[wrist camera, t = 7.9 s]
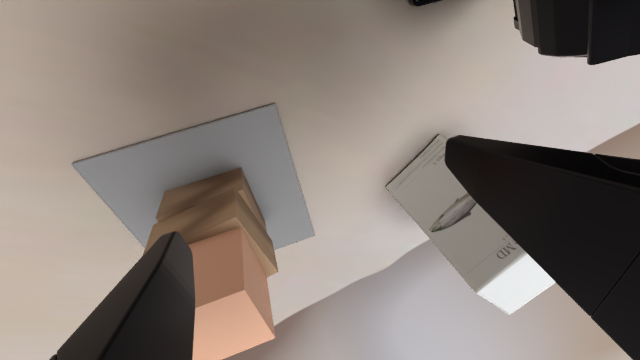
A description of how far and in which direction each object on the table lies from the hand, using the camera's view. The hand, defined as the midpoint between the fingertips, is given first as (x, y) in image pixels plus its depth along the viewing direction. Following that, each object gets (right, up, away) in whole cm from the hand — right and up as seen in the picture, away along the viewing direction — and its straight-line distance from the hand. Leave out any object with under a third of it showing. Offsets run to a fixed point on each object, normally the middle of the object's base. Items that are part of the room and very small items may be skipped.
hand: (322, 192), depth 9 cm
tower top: (-8, -4, +11) cm, 14 cm away
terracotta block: (-7, -5, +9) cm, 12 cm away
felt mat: (-9, -2, +14) cm, 17 cm away
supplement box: (+11, +1, +20) cm, 23 cm away
